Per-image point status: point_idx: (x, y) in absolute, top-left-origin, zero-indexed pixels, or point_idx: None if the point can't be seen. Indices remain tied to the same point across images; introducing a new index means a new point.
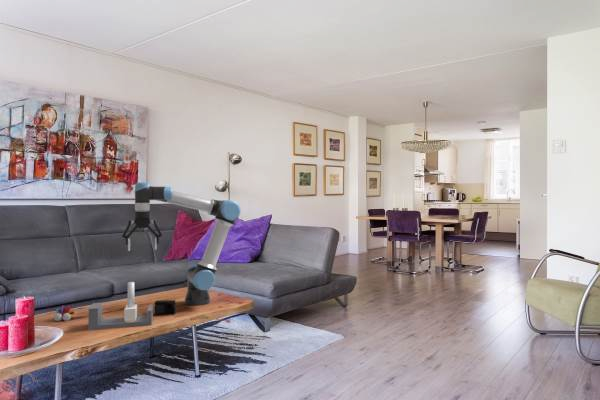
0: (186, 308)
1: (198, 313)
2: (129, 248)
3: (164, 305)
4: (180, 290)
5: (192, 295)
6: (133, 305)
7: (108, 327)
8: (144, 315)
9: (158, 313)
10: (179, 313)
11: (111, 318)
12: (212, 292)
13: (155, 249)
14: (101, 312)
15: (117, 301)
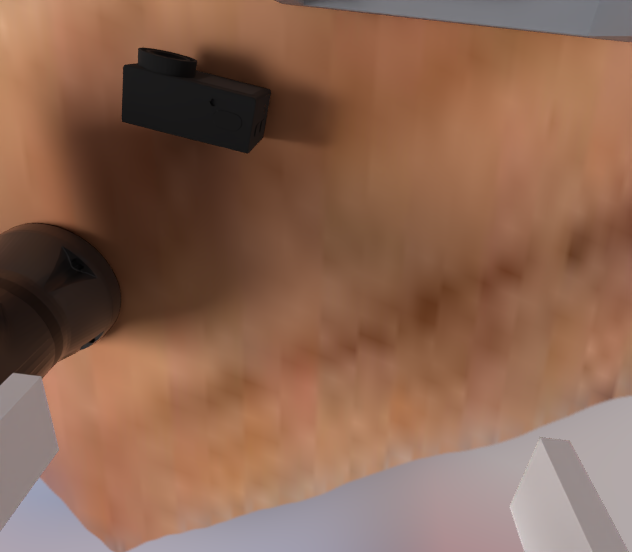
0: (100, 180)
1: (15, 23)
2: (560, 478)
3: (197, 79)
4: (159, 519)
5: (44, 266)
6: None
7: None
8: (329, 4)
9: (246, 84)
10: None
11: (534, 10)
12: None
13: (26, 378)
14: (621, 3)
15: (434, 448)
